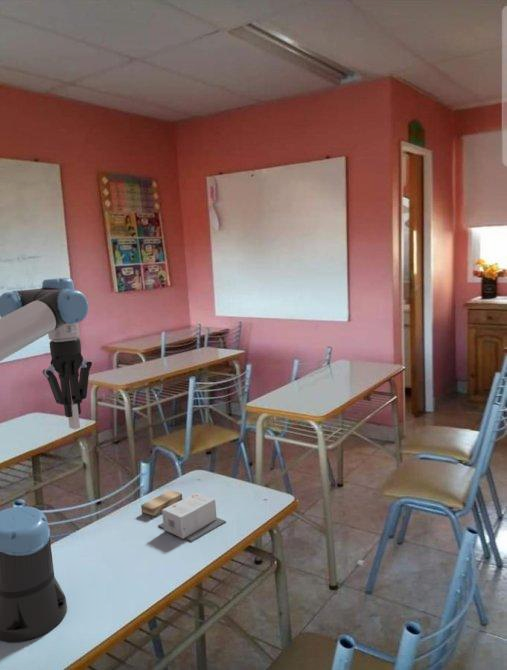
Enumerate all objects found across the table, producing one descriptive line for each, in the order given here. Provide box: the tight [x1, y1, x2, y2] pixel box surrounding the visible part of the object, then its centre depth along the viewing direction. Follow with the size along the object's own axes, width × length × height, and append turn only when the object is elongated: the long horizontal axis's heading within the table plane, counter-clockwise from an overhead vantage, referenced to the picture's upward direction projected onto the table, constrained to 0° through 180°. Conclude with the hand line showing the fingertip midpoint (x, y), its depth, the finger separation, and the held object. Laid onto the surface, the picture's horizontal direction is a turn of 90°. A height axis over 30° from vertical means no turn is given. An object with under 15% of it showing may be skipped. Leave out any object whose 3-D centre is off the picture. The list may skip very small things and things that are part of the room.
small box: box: [161, 492, 218, 540], centre depth 154 cm, size 8×6×13 cm
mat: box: [157, 517, 227, 543], centre depth 156 cm, size 13×14×1 cm
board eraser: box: [140, 489, 183, 519], centre depth 167 cm, size 12×5×3 cm, turn 142°
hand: (74, 427), depth 144 cm, fingers closed
